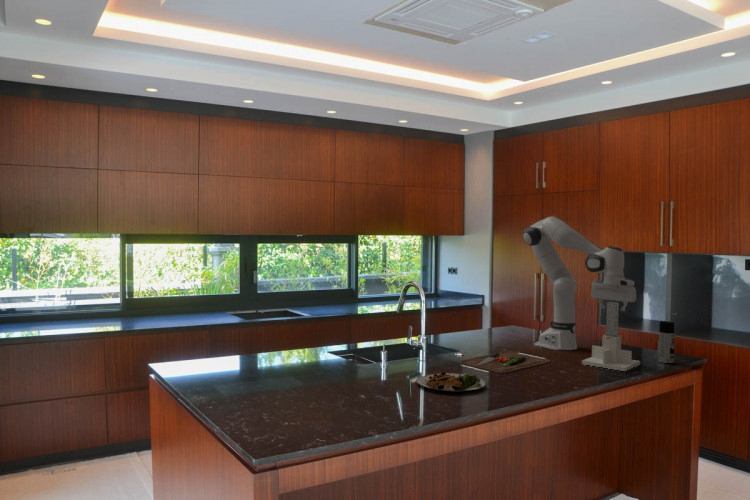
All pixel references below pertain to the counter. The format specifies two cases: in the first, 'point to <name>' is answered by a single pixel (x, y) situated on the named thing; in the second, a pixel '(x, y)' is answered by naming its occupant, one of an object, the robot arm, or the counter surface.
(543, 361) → the chopping board
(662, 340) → the spray can
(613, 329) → the column
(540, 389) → the counter surface
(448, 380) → the plate of food
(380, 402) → the counter surface
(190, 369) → the counter surface
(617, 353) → the stand
